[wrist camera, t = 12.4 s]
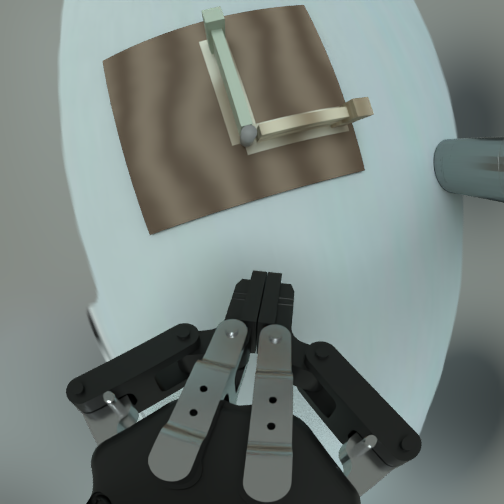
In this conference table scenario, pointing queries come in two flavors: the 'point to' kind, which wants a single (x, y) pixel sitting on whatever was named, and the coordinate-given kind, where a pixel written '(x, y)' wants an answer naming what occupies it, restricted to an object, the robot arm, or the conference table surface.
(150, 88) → the board
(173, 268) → the conference table surface
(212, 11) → the hinged fence panel
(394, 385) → the conference table surface
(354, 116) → the fixed fence panel
